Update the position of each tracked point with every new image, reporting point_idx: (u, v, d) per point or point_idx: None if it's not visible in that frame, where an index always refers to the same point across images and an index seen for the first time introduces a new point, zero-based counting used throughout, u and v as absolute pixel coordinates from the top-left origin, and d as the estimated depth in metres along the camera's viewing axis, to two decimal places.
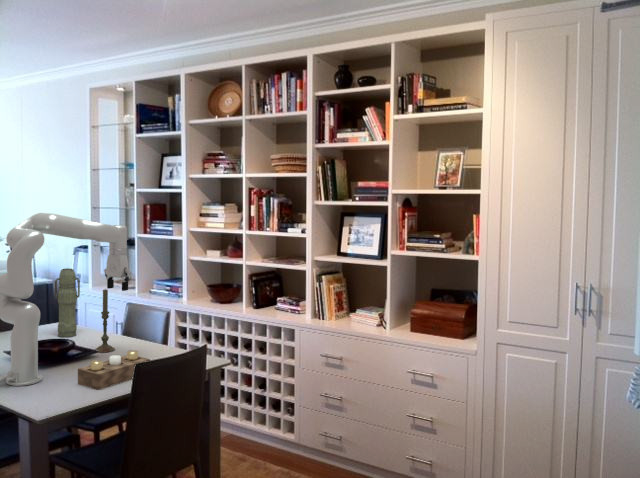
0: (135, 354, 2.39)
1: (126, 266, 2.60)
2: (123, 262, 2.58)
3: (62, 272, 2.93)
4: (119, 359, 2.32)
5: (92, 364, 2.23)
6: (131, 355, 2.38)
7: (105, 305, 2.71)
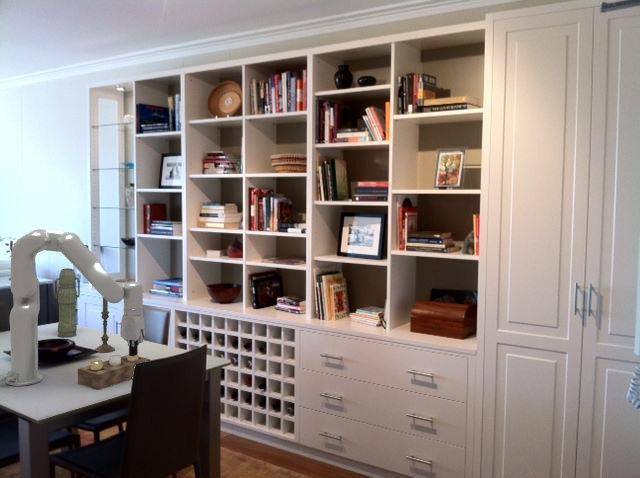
0: (135, 357, 2.39)
1: (142, 327, 2.37)
2: (139, 323, 2.36)
3: (62, 272, 2.93)
4: (119, 359, 2.32)
5: (92, 364, 2.23)
6: (131, 358, 2.38)
7: (105, 305, 2.71)
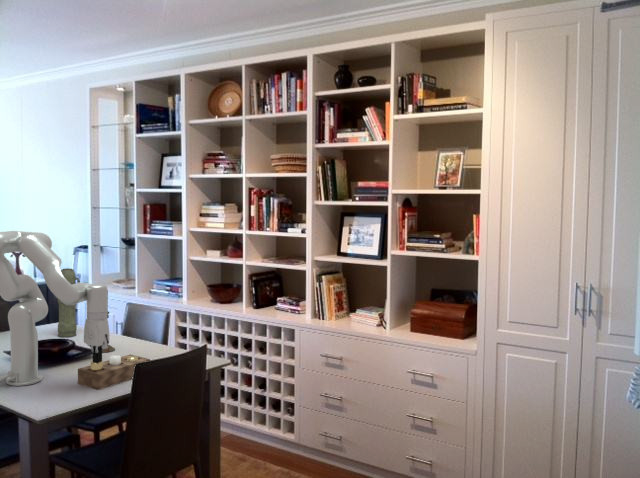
0: (135, 359, 2.39)
1: (107, 332, 2.22)
2: (103, 328, 2.20)
3: (62, 272, 2.93)
4: (119, 359, 2.32)
5: (92, 364, 2.23)
6: (131, 360, 2.38)
7: None
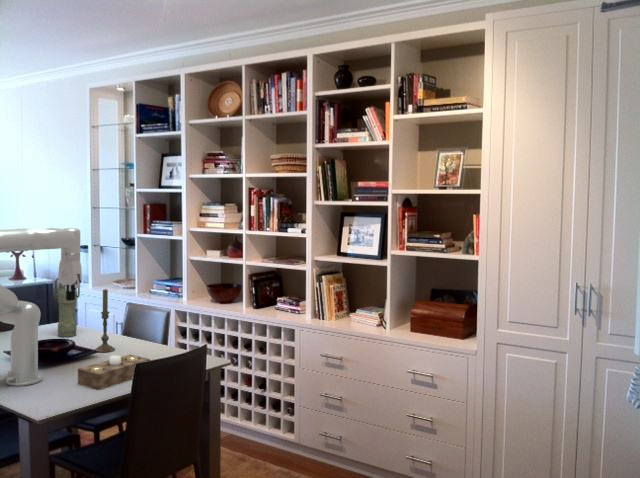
0: (135, 359, 2.39)
1: (79, 272, 2.41)
2: (76, 268, 2.39)
3: None
4: (119, 359, 2.32)
5: (92, 370, 2.23)
6: (131, 360, 2.38)
7: (105, 305, 2.71)
